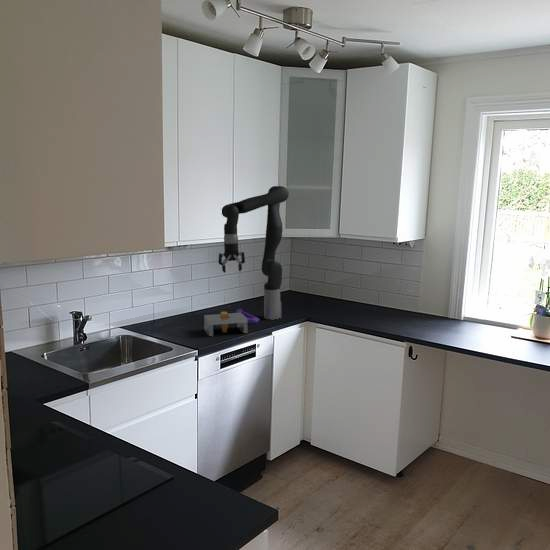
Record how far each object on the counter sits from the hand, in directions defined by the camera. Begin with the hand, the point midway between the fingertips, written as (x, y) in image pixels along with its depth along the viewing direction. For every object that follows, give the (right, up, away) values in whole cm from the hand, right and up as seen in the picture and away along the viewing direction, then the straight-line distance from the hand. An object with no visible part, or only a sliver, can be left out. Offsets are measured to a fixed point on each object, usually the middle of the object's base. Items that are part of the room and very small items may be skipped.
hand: (232, 271), depth 302 cm
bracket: (+8, -29, +9) cm, 31 cm away
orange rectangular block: (-3, -31, -11) cm, 34 cm away
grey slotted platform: (-2, -32, -12) cm, 34 cm away
